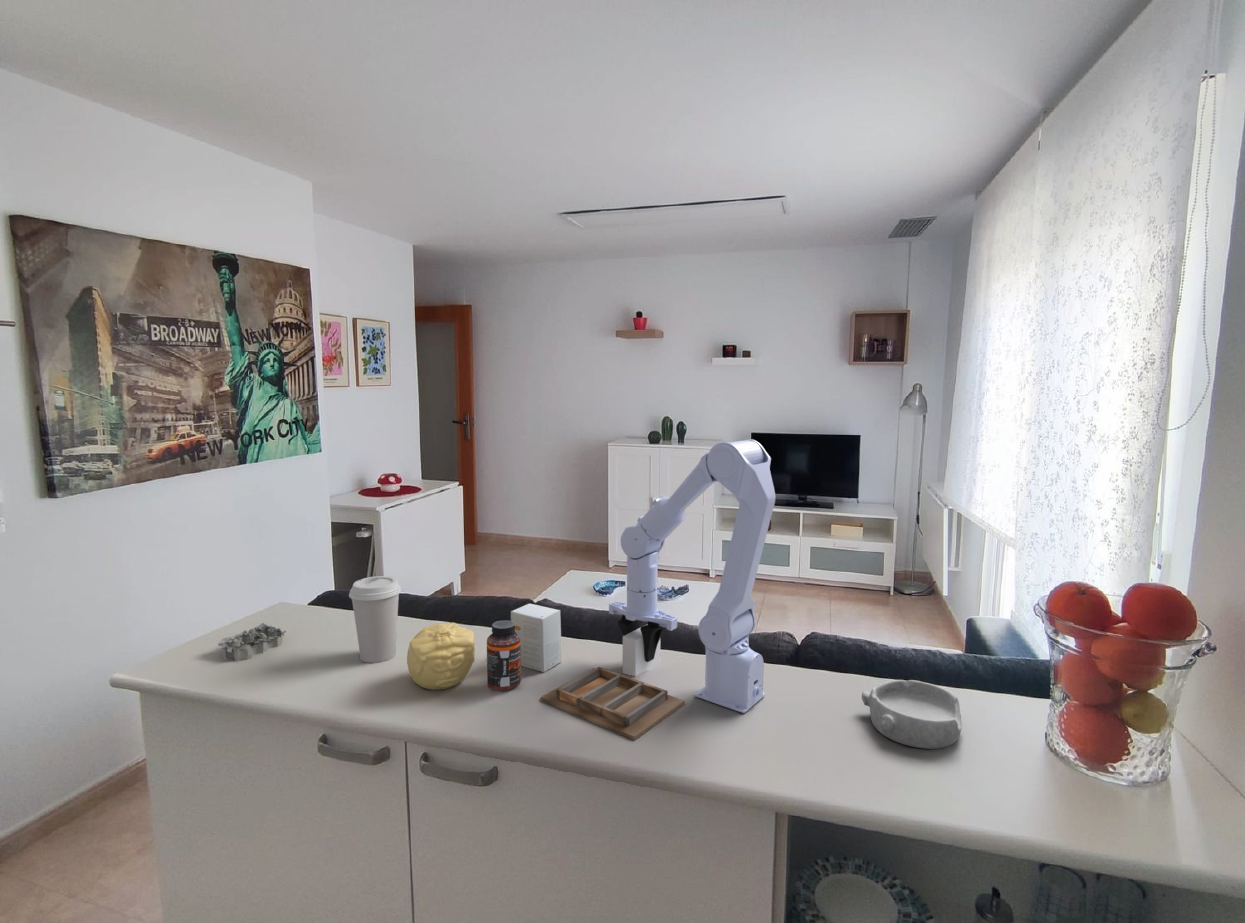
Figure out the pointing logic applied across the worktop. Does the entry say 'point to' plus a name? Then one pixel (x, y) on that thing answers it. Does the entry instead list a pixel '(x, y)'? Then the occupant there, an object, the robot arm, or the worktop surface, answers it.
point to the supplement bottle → (503, 657)
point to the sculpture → (441, 656)
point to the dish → (915, 713)
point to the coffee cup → (376, 617)
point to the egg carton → (251, 642)
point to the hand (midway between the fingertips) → (641, 657)
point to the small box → (538, 636)
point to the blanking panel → (637, 654)
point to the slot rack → (614, 701)
